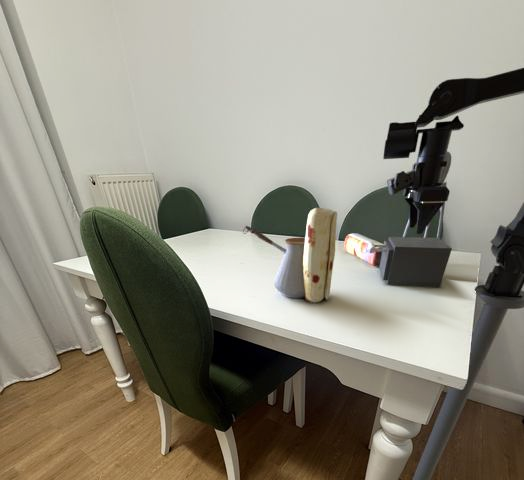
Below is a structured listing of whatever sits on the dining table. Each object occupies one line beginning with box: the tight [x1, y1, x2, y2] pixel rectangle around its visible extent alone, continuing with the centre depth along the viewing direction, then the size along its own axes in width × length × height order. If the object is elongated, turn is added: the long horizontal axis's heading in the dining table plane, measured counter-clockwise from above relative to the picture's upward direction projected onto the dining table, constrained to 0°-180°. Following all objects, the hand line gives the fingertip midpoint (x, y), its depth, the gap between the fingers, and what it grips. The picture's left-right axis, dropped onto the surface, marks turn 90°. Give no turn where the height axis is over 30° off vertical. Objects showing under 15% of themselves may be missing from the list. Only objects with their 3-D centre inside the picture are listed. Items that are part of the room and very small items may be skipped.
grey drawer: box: [368, 240, 394, 281], centre depth 80 cm, size 16×12×8 cm
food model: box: [303, 207, 338, 303], centre depth 65 cm, size 10×7×20 cm
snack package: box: [343, 232, 384, 267], centre depth 98 cm, size 21×7×7 cm, turn 12°
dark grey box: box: [385, 236, 453, 289], centre depth 79 cm, size 13×13×10 cm
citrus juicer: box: [402, 151, 452, 239], centre depth 86 cm, size 11×10×30 cm
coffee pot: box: [242, 225, 305, 299], centre depth 73 cm, size 21×12×15 cm, turn 56°
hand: (415, 230), depth 73 cm, fingers open, 9 cm apart
